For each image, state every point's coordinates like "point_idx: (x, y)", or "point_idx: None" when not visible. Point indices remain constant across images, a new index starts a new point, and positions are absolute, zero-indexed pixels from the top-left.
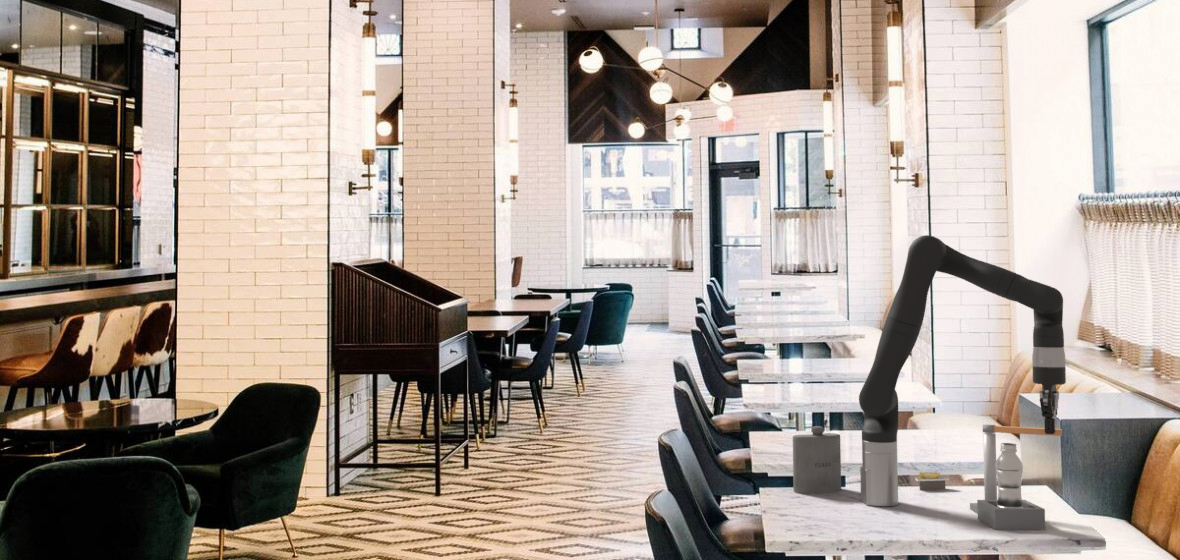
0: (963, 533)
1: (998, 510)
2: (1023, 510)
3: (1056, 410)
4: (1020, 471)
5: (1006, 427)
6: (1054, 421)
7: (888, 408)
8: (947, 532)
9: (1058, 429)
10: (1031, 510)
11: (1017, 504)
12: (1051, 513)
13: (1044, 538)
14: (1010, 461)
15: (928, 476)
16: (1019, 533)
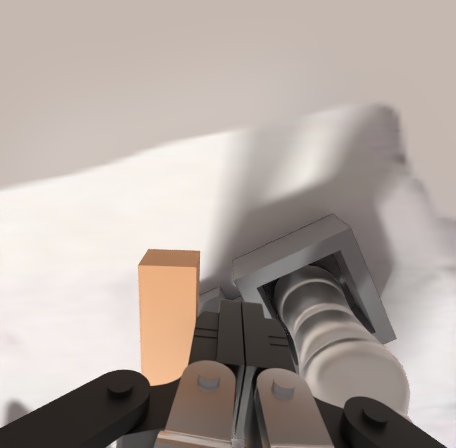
0: (430, 363)
1: (392, 329)
2: (370, 276)
3: (116, 417)
4: (374, 341)
5: None
6: (250, 352)
7: None
8: (430, 389)
9: (171, 286)
10: (361, 257)
11: (342, 295)
12: (122, 205)
13: (425, 212)
14: (408, 397)
15: None
16: (391, 264)
